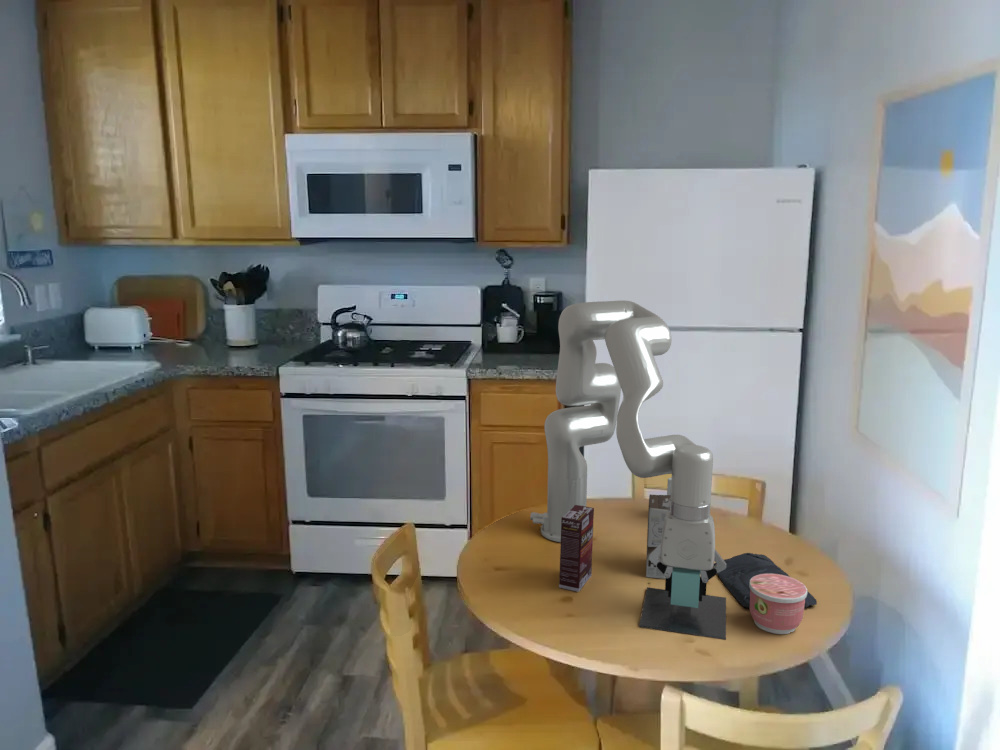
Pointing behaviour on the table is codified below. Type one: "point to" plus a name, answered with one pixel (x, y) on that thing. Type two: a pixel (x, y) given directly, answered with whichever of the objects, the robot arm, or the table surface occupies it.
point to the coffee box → (655, 531)
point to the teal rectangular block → (685, 587)
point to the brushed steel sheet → (684, 615)
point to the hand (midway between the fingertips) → (685, 595)
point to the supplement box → (576, 548)
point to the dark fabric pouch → (750, 575)
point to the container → (777, 602)
